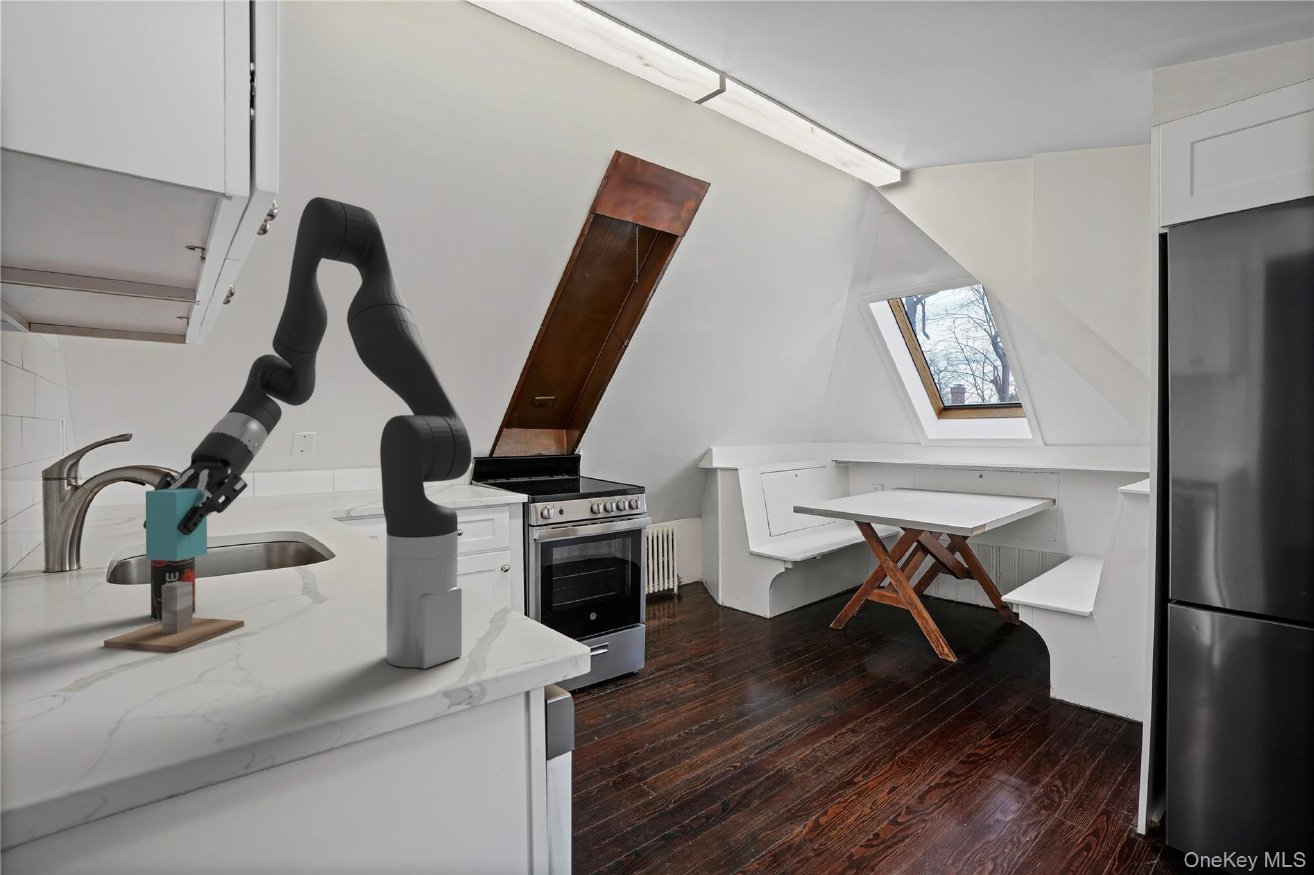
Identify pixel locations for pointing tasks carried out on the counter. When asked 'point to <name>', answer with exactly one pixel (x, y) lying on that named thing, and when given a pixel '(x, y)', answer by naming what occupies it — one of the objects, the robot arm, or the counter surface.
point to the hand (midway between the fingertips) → (166, 530)
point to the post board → (174, 639)
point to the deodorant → (169, 580)
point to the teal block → (172, 525)
